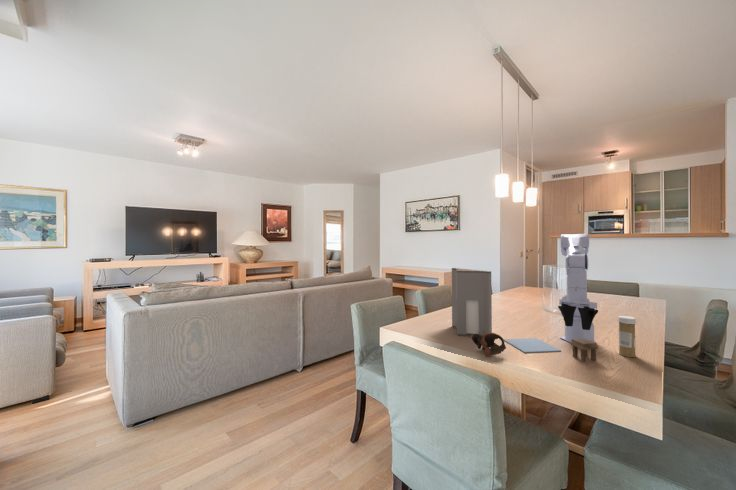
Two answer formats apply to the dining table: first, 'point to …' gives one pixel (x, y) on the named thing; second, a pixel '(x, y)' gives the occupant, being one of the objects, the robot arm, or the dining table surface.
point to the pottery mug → (489, 343)
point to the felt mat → (531, 345)
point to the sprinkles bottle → (627, 336)
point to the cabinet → (471, 302)
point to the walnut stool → (584, 348)
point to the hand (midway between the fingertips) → (577, 327)
